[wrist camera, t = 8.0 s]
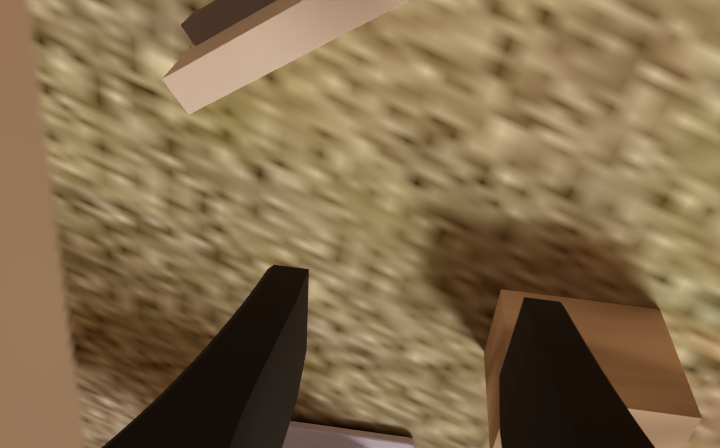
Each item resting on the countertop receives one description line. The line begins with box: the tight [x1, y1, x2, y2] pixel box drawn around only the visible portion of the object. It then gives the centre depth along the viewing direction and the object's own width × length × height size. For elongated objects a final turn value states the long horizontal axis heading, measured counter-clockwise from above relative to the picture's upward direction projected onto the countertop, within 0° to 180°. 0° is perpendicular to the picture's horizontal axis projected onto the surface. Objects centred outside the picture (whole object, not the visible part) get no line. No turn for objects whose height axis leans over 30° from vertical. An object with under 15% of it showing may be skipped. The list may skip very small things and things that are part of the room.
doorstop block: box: [484, 289, 702, 448], centre depth 23 cm, size 4×6×5 cm, turn 86°
